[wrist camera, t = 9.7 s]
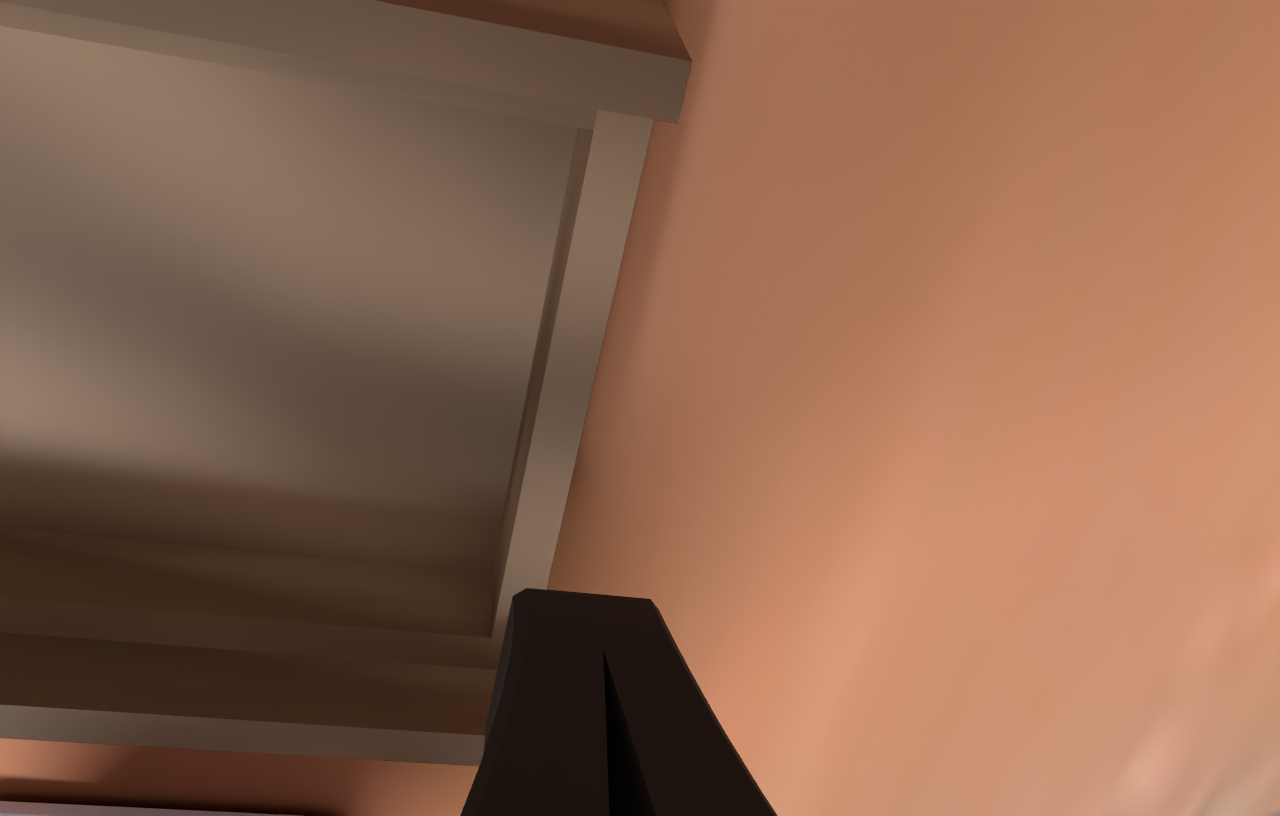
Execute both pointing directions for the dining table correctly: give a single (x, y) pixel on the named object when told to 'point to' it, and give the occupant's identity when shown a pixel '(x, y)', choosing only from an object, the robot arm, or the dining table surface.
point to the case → (299, 353)
